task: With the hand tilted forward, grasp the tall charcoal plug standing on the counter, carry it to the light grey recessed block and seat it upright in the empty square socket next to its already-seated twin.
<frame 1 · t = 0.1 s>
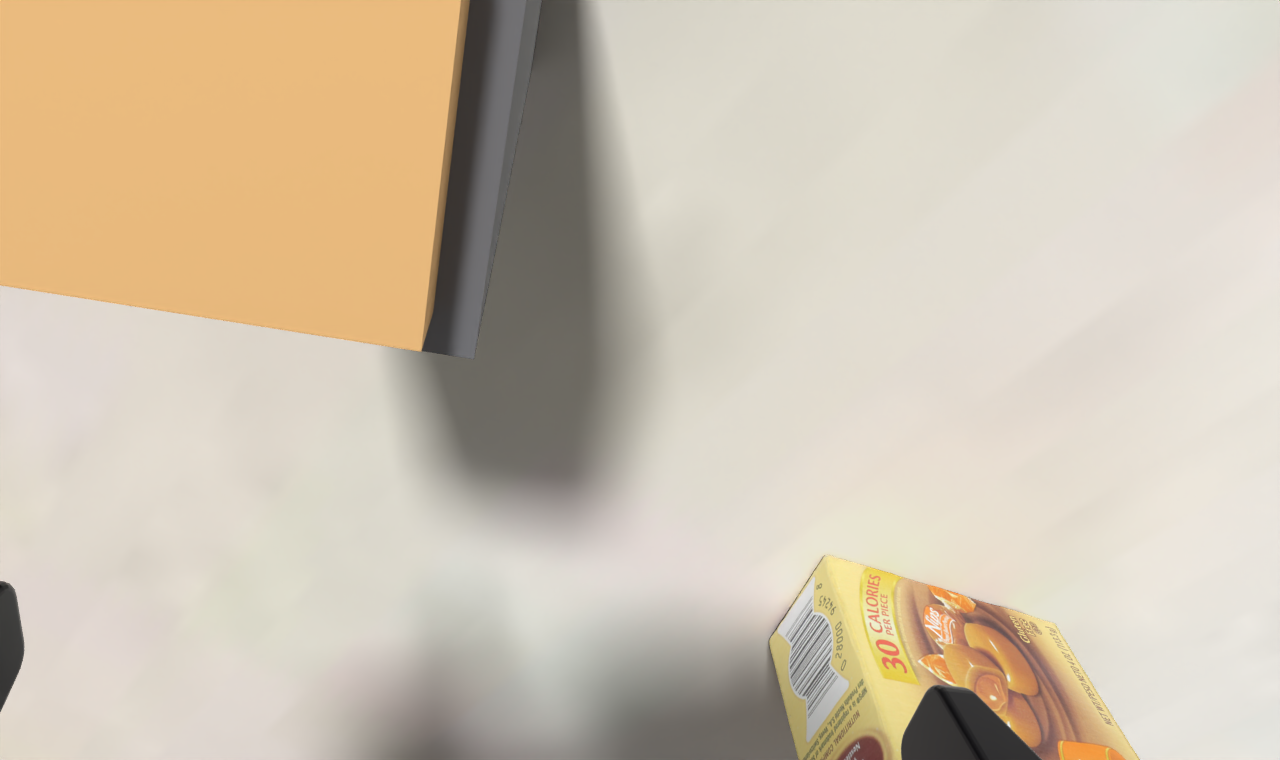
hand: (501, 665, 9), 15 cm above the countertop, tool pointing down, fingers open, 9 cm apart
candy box: (911, 621, 30), on the countertop
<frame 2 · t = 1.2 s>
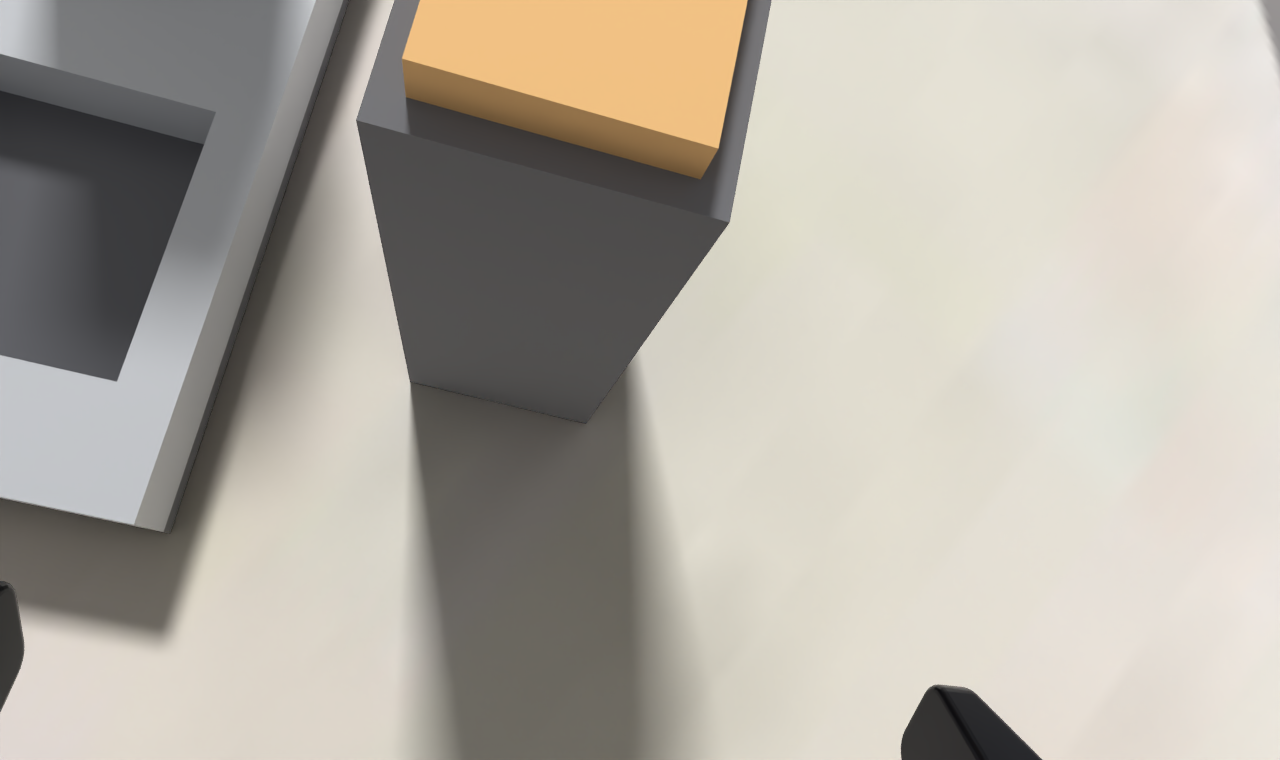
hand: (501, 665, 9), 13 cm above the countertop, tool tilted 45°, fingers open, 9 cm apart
plug: (519, 320, 24), on the countertop
light grey recessed block: (131, 66, 23), on the countertop
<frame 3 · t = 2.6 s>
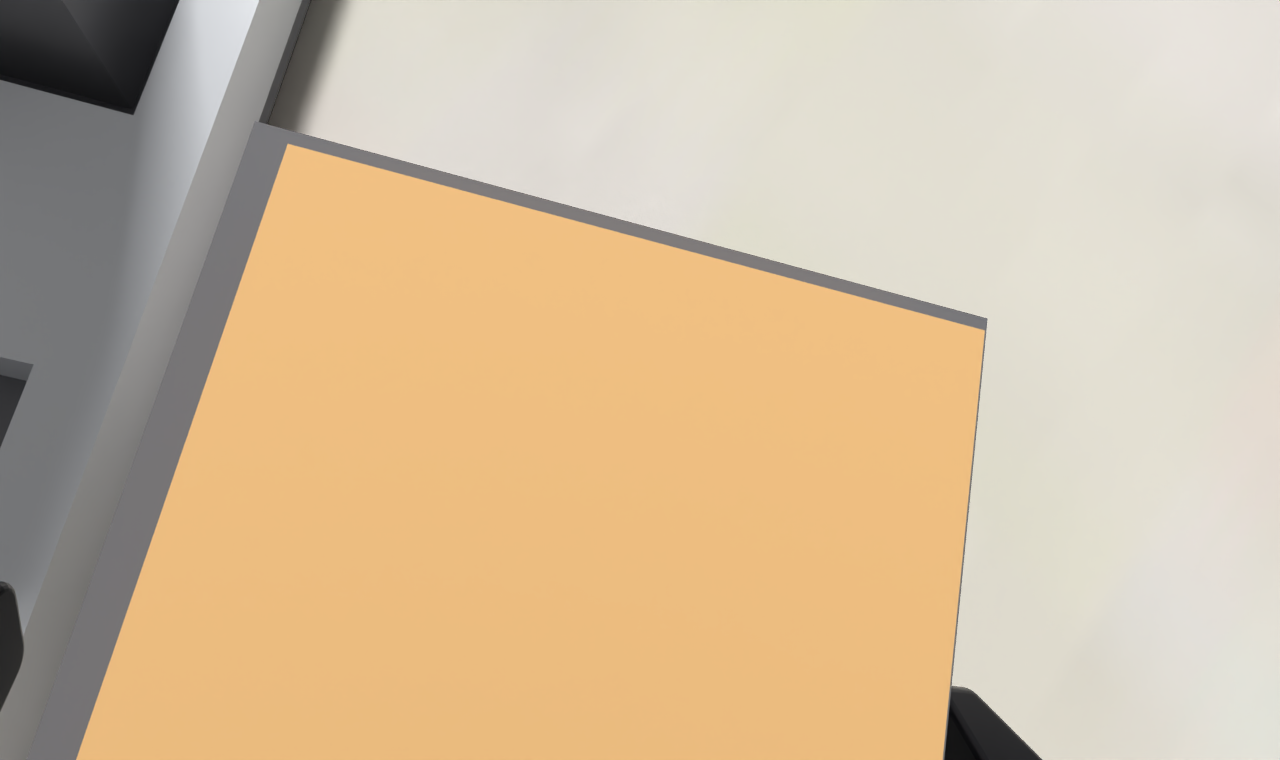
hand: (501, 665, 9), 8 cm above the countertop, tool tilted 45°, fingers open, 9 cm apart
plug: (483, 612, 17), on the countertop
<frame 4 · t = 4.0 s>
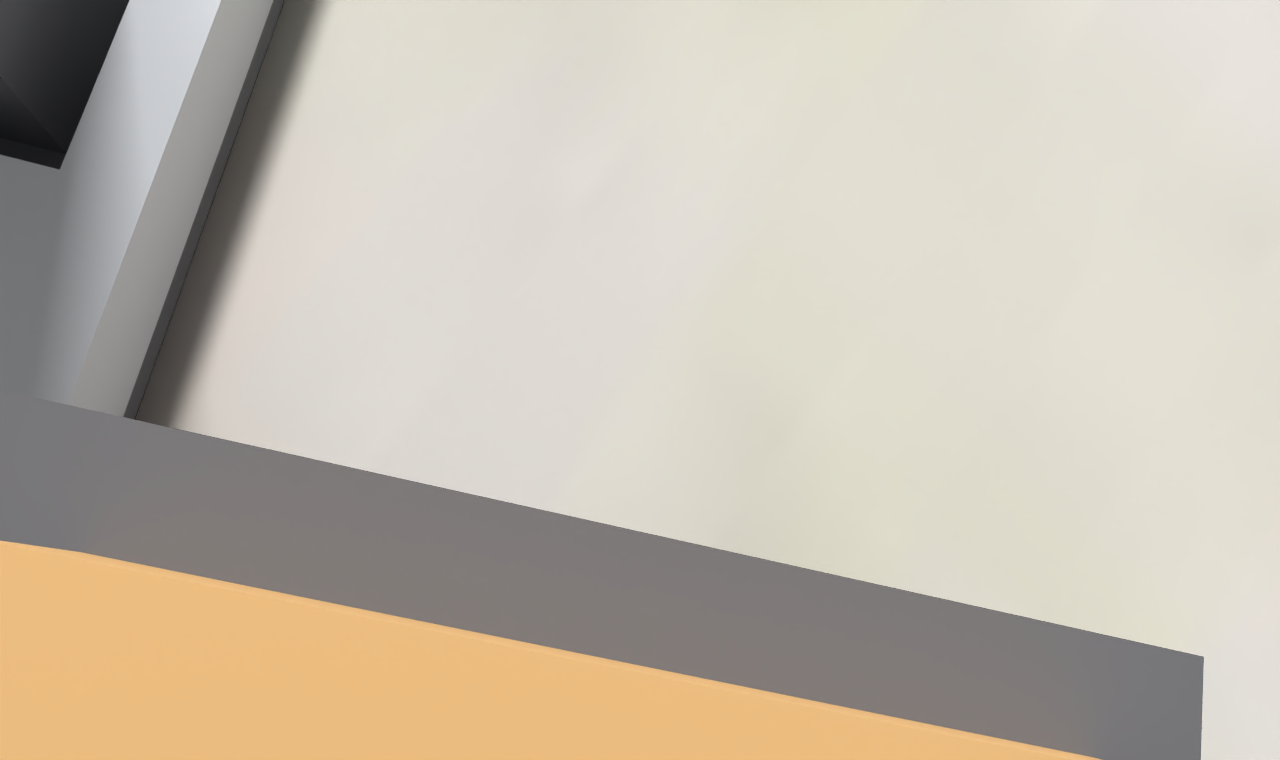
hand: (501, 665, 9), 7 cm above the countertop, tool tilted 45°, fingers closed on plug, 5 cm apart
plug: (469, 729, 15), on the countertop, touching gripper
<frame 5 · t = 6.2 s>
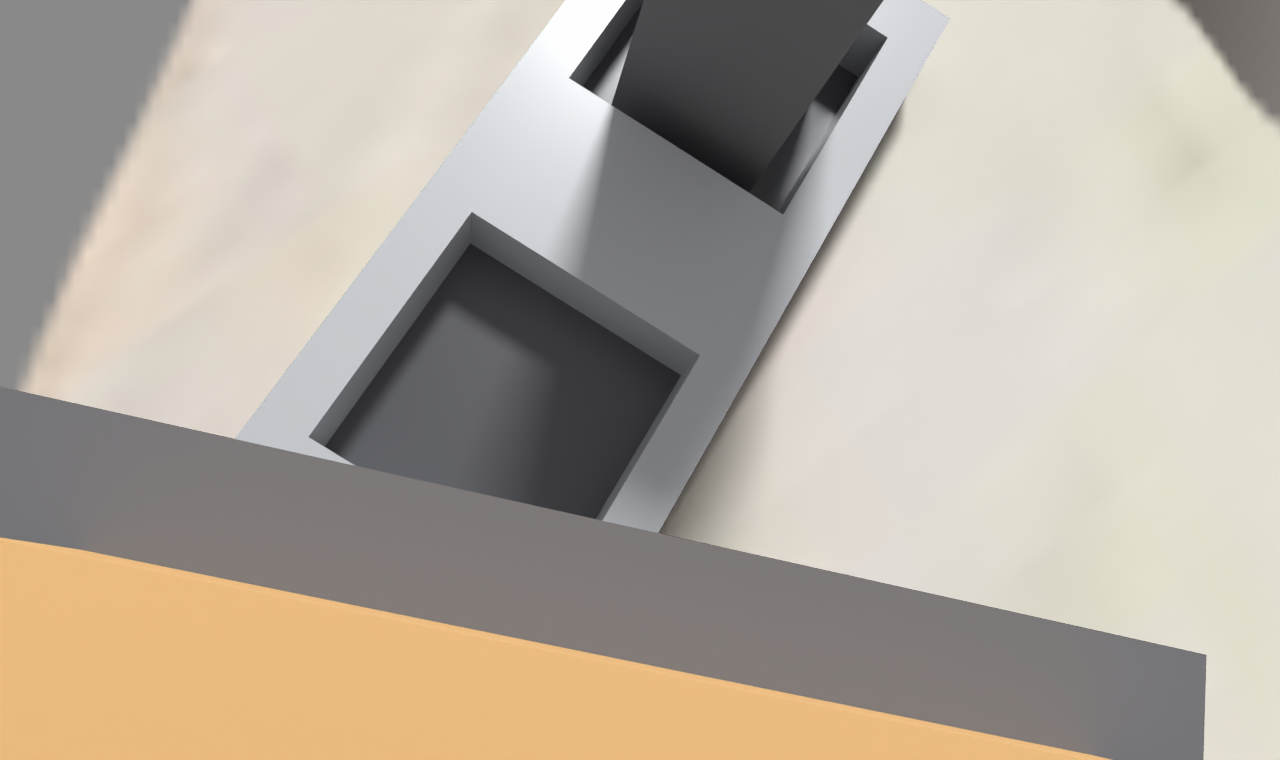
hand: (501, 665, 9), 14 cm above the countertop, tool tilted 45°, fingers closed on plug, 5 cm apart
plug: (469, 729, 15), point 7 cm above the countertop, touching gripper
light grey recessed block: (607, 264, 25), on the countertop
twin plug: (710, 105, 27), resting on light grey recessed block
when the fingers open (9 cm above the countertop, at t = 8.4 s): plug drops 2 cm, resting on light grey recessed block.
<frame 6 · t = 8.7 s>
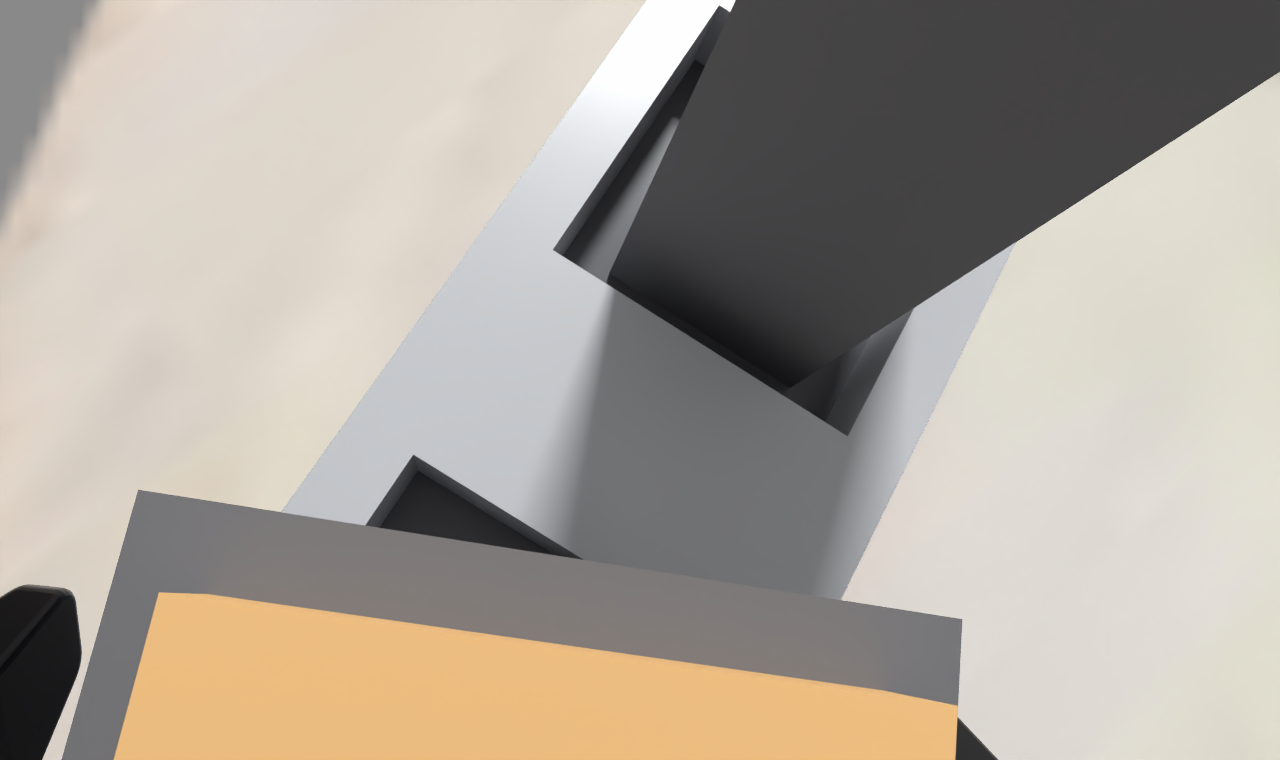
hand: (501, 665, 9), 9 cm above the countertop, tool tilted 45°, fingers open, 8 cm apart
plug: (468, 715, 17), point 1 cm above the countertop, touching light grey recessed block
light grey recessed block: (605, 485, 19), on the countertop
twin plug: (742, 256, 21), resting on light grey recessed block
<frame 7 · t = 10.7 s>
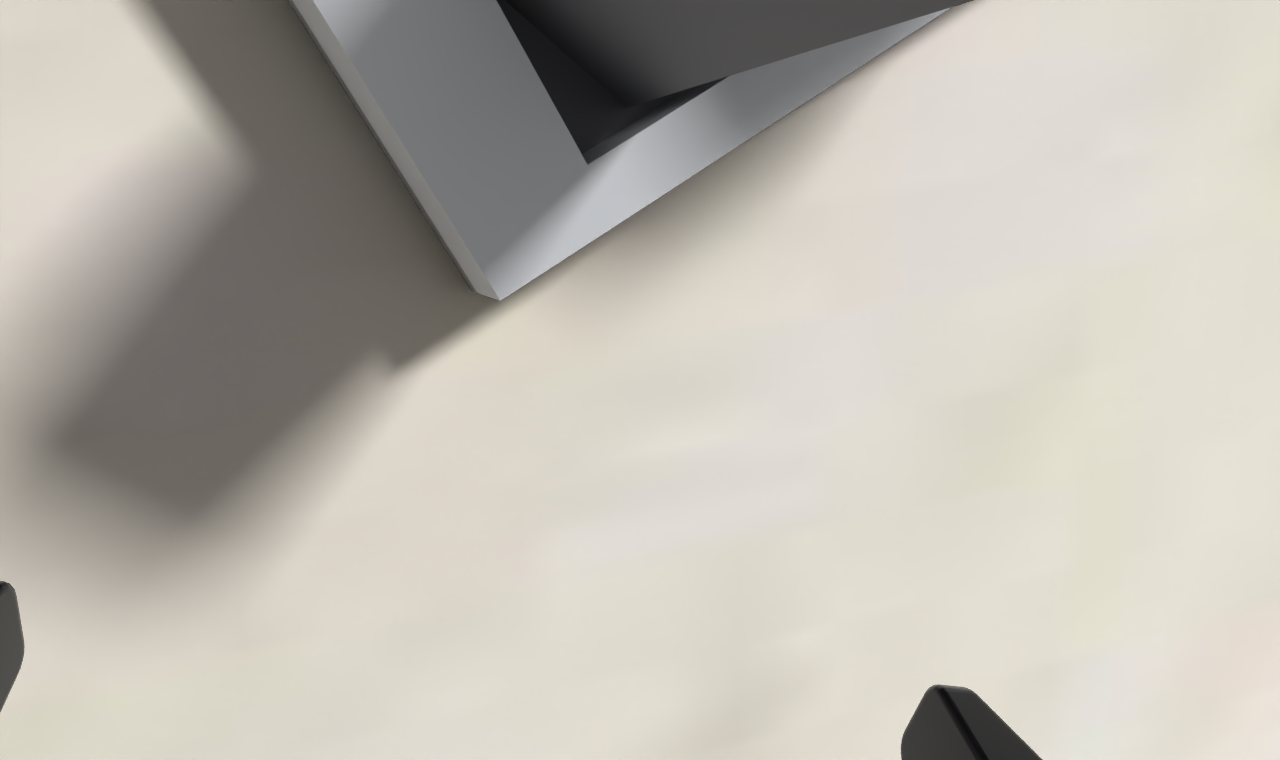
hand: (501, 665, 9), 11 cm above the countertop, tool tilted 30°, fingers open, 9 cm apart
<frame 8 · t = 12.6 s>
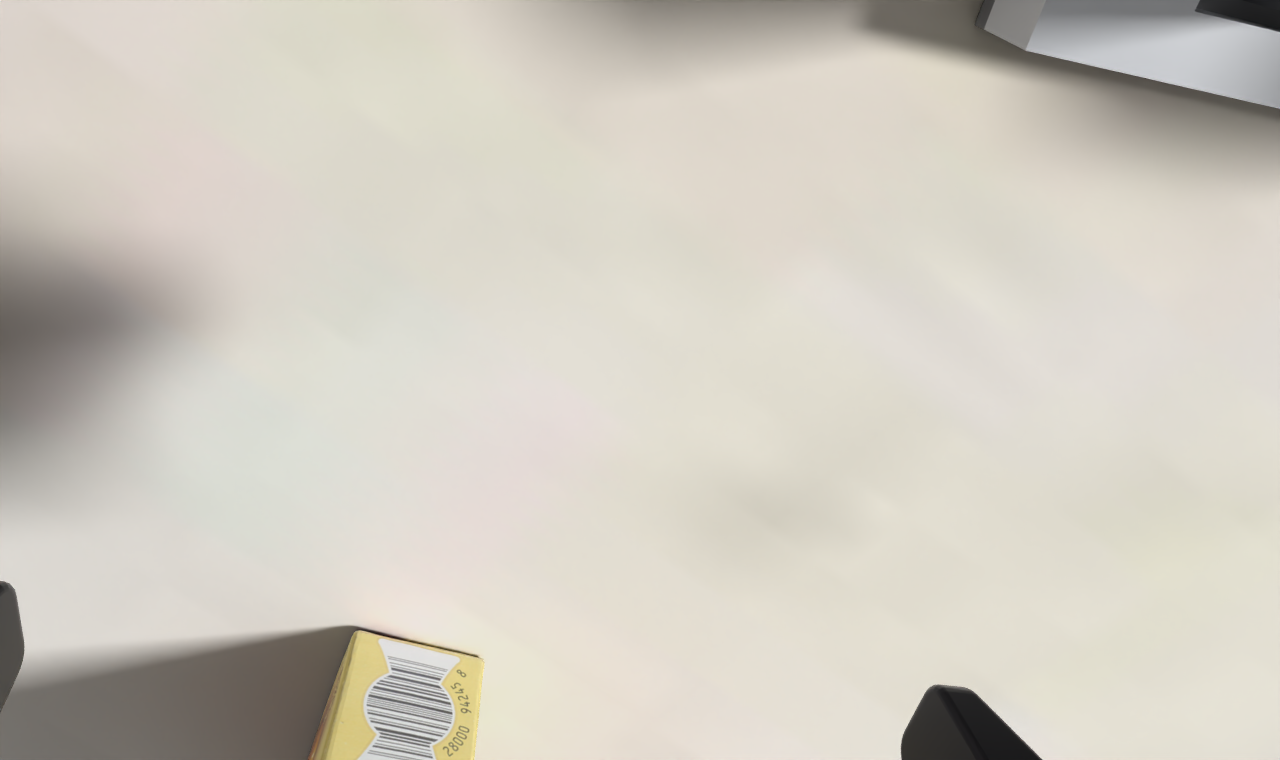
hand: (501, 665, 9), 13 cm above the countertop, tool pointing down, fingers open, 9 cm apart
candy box: (388, 728, 29), on the countertop
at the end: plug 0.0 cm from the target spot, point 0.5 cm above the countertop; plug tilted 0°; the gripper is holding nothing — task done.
